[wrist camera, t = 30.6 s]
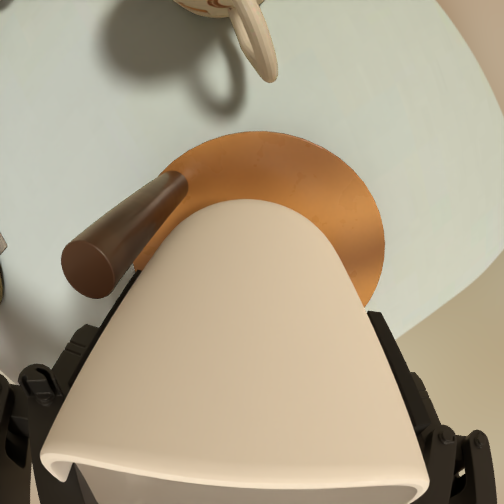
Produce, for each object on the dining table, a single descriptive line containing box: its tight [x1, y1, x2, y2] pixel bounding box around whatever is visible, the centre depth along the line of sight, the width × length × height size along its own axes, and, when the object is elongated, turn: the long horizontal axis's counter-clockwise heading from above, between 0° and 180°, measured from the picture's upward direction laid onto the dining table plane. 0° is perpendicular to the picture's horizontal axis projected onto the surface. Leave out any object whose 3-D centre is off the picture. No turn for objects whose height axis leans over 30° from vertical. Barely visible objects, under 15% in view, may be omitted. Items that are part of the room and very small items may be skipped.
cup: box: [40, 199, 430, 504], centre depth 9 cm, size 8×12×10 cm
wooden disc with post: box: [61, 131, 385, 308], centre depth 13 cm, size 16×16×10 cm
